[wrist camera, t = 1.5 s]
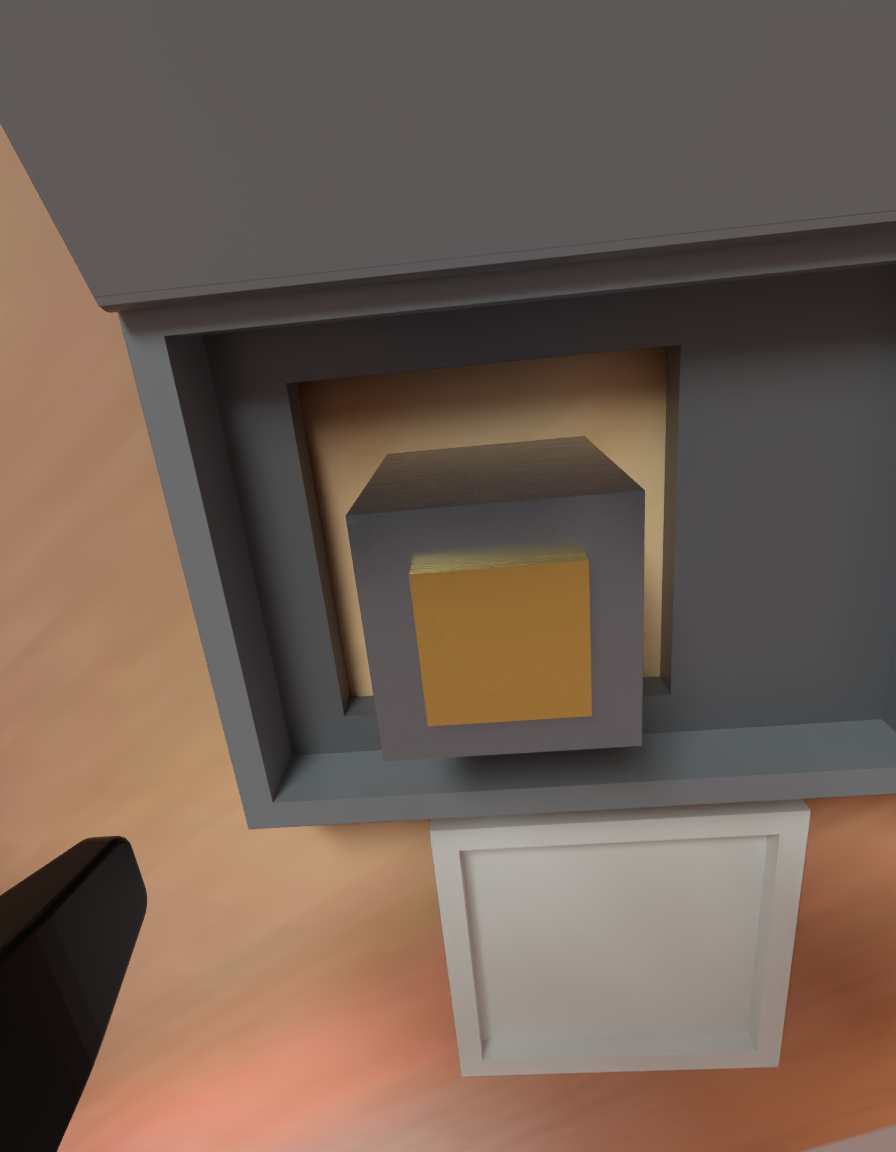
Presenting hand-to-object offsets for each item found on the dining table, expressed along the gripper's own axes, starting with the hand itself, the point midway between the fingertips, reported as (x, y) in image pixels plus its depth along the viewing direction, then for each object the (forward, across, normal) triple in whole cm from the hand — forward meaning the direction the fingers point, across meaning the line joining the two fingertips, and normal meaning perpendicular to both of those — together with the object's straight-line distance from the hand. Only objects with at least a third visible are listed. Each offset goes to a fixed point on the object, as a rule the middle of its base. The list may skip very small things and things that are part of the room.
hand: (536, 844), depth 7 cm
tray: (+11, -3, +14) cm, 18 cm away
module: (+11, 0, 0) cm, 11 cm away
